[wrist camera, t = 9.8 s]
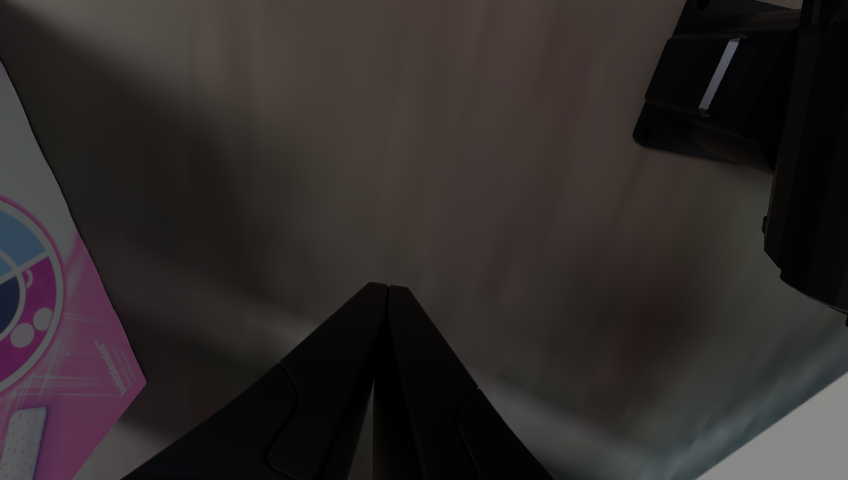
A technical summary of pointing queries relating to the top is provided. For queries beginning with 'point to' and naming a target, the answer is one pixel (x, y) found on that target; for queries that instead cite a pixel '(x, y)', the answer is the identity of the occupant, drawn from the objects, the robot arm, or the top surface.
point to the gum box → (51, 321)
